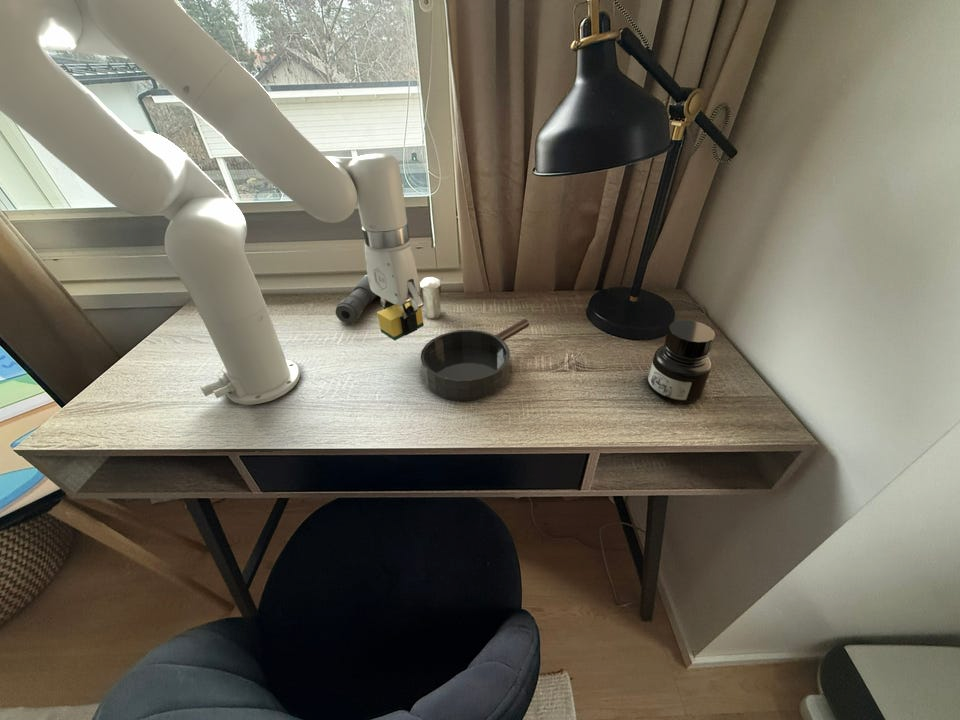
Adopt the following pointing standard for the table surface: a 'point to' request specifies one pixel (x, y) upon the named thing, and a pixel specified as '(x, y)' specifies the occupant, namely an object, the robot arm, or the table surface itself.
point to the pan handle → (513, 329)
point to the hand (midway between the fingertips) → (402, 326)
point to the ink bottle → (682, 362)
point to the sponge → (395, 321)
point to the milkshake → (431, 296)
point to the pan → (465, 365)
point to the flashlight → (355, 302)
